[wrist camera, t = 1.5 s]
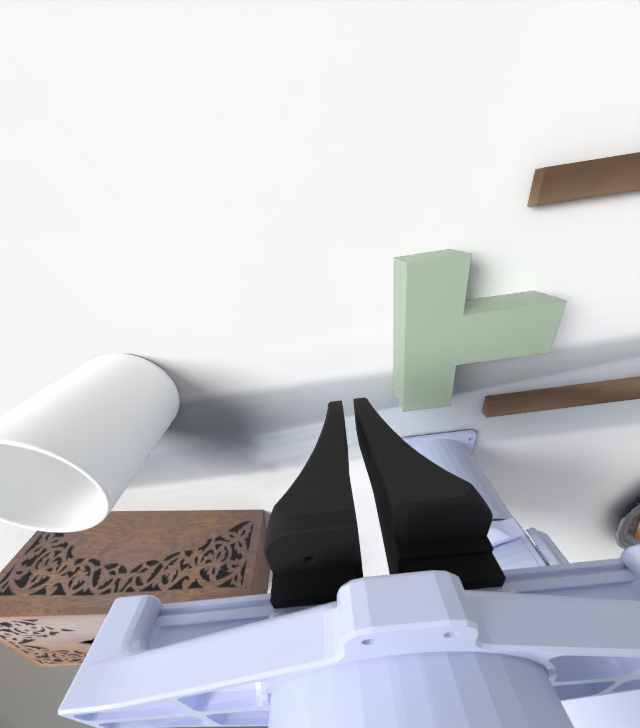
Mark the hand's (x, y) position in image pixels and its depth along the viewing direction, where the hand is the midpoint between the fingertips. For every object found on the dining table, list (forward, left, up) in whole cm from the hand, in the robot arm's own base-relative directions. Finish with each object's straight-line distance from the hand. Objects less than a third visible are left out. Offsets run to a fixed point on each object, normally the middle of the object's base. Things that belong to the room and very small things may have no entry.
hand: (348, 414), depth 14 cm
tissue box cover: (-27, +25, -10) cm, 38 cm away
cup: (-2, +20, -10) cm, 23 cm away
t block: (0, -11, -9) cm, 14 cm away
